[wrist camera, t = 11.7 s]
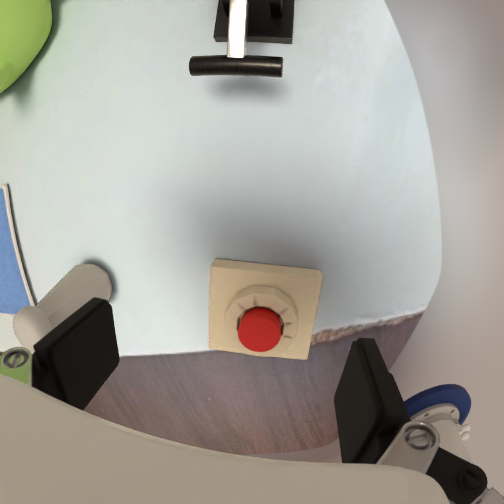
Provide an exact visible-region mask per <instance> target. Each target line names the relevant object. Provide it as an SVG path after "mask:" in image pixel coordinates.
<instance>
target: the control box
mask: <svg viewBox="0 0 504 504" xmlns="http://www.w3.org/2000/svg"><path fill="white" fill-rule="evenodd" d="M322 281H323V277H322V274H321V271H320V270H318V269H308V268H298V267H289V266H279V265H270V264H260V263H251V262H242V261H232V260H223V259H215V260H214V262H213V263H212V265H211V266H210V297H209V348H210V349H216V350H223V351H230V352H238V353H245V354H248V355H254V356H263V357H268V356H271V357H281V358H292V359H305V360H307V357H308V352H309V348H310V343H311V338H312V334H313V329H314V324H315V319H316V314H317V309H318V303H319V298H320V292H321V287H322ZM254 308H266V309H269V310H271V311H273V312H274V313H275V314H276V315H277V316H278V317H279V319H280V322H281V337H280V341H279V343H278V344H277V345H276V346H275V347H274V348H273V349H271V350H269V351H266V352H255V351H251V350H249V349H247V348H246V347H244V346H243V345H242V343H241V342H240V340H239V338H238V329H239V325H240V322H241V318H242V316H243V315H244V314H245V313H246V312H247V311H249V310H251V309H254Z"/></svg>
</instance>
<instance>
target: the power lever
mask: <svg viewBox="0 0 504 504" xmlns="http://www.w3.org/2000/svg"><path fill="white" fill-rule="evenodd" d="M248 12H249V0H230V11H229V27H228V45H227V55H212V56H193V57H191V59H190V62H189V71H190V74H191V75H192V76H202V75H245V76H267V77H282V72H283V58H282V57H273V56H251V55H246V46H247V28H248Z"/></svg>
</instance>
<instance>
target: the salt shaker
mask: <svg viewBox="0 0 504 504" xmlns="http://www.w3.org/2000/svg"><path fill="white" fill-rule="evenodd" d="M111 291H112V285H111V282H110V278H109V275H108V273H107V272H106V271H104V270H103V269H101V268H100V267H99V266H97V265H94V264H82V265H77V266H74V268H73V269H72V270H71V271H70V272H69V273H67V274H66V275H65V276H64V277H63V278H62V279H61V280H60V281H59V282H58V283H57V284H56V285H55V286H54V287H53V288H52V289H51V290H50V291H49V292H48V293H47V295H46V296H45V297H44V298H43V299H42V300H41V301H40V302H39V303H38V304H37V305H36V306H25V307H23V308H21V309H20V310H19V311H18V312H17V314H16V315H15V316H14V319H13V328H14V331H15V335H16V336H17V338H18V340H19V342H20V343H21V344H22V345H23V347H24V348H27V349H28V350H30V352H31V353H34V352H35V351H34V348H33V345H34V344H36V343H37V342H38V341H39V340H40V339H42V338H43V337H44V336H45V335H46V334H48V333H49V332H50V331H51V330H53V329H54V328H55V327H56V326H58V325H59V324H60V323H61V322H63V321H64V320H65V319H66V318H68V317H69V316H70V315H71V314H73V313H74V312H75V311H76V310H78V309H79V308H80V307H82V306H83V305H84V304H85V303H87V302H88V301H89V300H91V299H92V298H94V297H97V298H101V299H106V300H107V301H109V299H110V295H111Z"/></svg>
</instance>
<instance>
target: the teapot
mask: <svg viewBox="0 0 504 504" xmlns="http://www.w3.org/2000/svg"><path fill="white" fill-rule="evenodd" d="M51 26H52V9H51V2H50V0H0V93H1V92H2V91H4V90H5V89H6V88H8V87H9V86H10V85H11V84H13V83H14V82H15V81H16V80H17V79H18V78H19V77H20V76H21V75H22V73H23V72H24V71H25V70H26V69H27V67H28V66H29V65H30V64H31V62H32V61H33V60H34V58H35V57H36V55H37V54H38V53H39V51H40V50H41V48H42V47H43V45H44V43H45V41H46V40H47V37H48V35H49V33H50V30H51Z"/></svg>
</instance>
